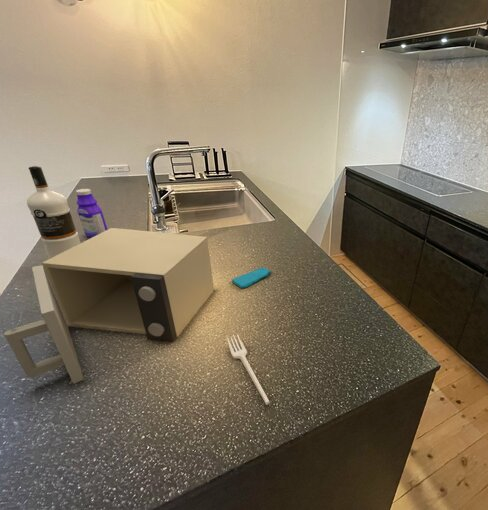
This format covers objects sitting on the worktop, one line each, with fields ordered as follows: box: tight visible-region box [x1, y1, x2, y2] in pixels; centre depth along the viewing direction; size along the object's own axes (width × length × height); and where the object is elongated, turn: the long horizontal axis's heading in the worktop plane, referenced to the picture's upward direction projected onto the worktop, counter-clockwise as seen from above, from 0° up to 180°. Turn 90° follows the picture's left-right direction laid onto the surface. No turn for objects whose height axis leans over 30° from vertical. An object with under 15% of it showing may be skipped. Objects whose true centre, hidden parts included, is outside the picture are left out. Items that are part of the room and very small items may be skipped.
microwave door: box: [3, 264, 85, 385], centre depth 59 cm, size 7×20×17 cm, turn 45°
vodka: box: [26, 165, 82, 260], centre depth 88 cm, size 9×9×30 cm
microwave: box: [41, 227, 215, 343], centre depth 75 cm, size 22×26×17 cm
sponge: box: [231, 267, 272, 289], centre depth 95 cm, size 2×12×6 cm
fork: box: [226, 333, 271, 406], centre depth 64 cm, size 3×20×2 cm, turn 36°
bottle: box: [75, 188, 108, 239], centre depth 110 cm, size 7×6×17 cm
